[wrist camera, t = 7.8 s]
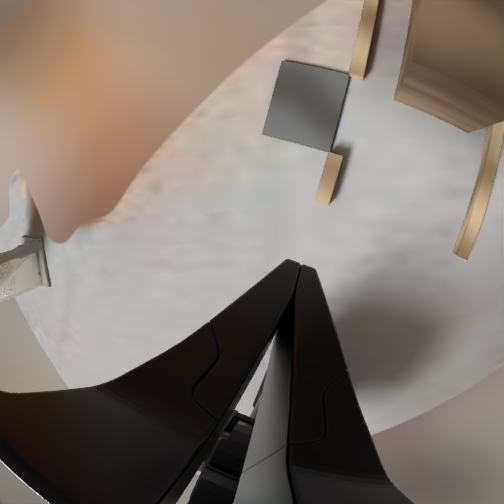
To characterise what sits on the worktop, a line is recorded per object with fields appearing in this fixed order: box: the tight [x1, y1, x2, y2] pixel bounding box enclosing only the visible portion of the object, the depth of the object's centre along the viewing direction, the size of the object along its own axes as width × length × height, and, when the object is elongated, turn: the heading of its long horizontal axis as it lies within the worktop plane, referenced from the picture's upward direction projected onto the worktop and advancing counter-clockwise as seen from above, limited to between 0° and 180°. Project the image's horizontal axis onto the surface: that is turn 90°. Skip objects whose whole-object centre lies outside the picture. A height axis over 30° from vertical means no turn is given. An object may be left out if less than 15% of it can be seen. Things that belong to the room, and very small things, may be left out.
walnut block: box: [394, 0, 504, 133], centre depth 10 cm, size 14×6×8 cm, turn 164°
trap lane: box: [262, 0, 504, 260], centre depth 13 cm, size 25×22×3 cm
